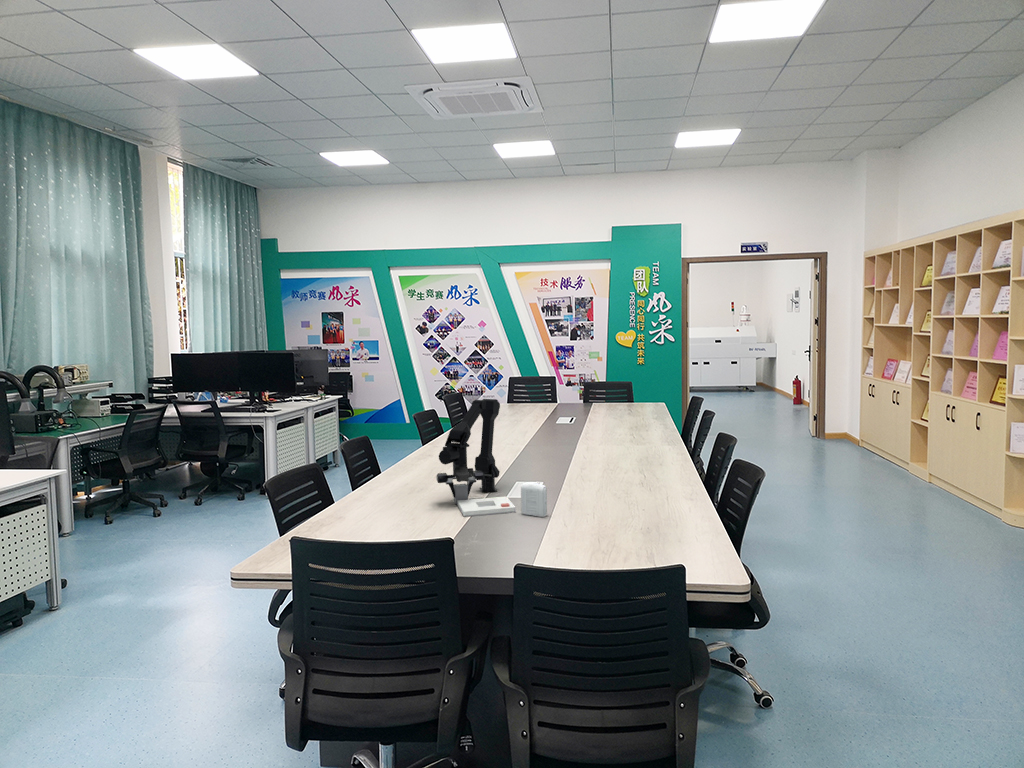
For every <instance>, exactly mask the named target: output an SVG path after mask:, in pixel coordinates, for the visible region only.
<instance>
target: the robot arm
mask: <svg viewBox="0 0 1024 768" xmlns="http://www.w3.org/2000/svg"><path fill="white" fill-rule="evenodd" d="M500 409H501V404H500V402H499V400H498V399H496V398H483V399H474V400H472V402H471V405H470V407H469V409H468V410H467V412H466V413H465V414H464V416H463V418H462V419H461V421H460V422H459V423H456V425H454V426H452V428H451V429H450V431H449V433H448V435H447V438H446V441H445V444H444V446H443V447H442V450H441V451H440V452H439V454H438V460H439V462H440V463H441V464H443V465H445V466H446V465H449V464H452V474H447V473H446V472H439V473H437V474H436V481H437V483H438V484H444V483H445V485H448V486H449V488H450V490H451V493H452V496H453V499H454V498H455V491H454V481H453V480H456V482H458V483H462V482H466V485H467V486H468V497H469V495H470V494H471V493H470V492H471V490H472V487H473V484H474V483H477V481H481V487H479V490H480V491H481V493H492V492H497V491H498V489H497V488H496V482H495V481H496V480H495V479H497V478H498V477H500V469H498V467H497V466H496V460H495V457H494V454H493V445H494V432H495V431H494V430H495V420H496V418H497V417H498V415H499V413H500ZM479 416H481V418H482V426H481V427H482V428H481V429H482V430H481V442H480V452H479V455H478V456H475V458H474V467H469V468H468V453H467V451H468V450H467V448H469V447H470V444H469V443H468V442H469V439H470V437H471V436H472V435H471V434H472V432H471V431H472V430H471V429H472V428H473V426H474V424H475V423H476V421H477V420H478V418H479Z"/></svg>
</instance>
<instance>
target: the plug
mask: <svg viewBox="0 0 1024 768" xmlns="http://www.w3.org/2000/svg"><path fill="white" fill-rule="evenodd" d="M454 491H455V498H454V497H453V503H454V504H455V505H456V506H458V500H469V496H468V486H467V483H458V484H457V483H456V484H454Z"/></svg>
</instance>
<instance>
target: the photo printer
mask: <svg viewBox="0 0 1024 768" xmlns="http://www.w3.org/2000/svg"><path fill="white" fill-rule="evenodd" d="M520 512H521V514H522V515H527V516H534V517H538V518H539V517H540V518H544V517H547V515H548V488H547V486H546V485H544V484H542V483H540V482H536V481H535V482H534V481H529V482H528V481H527V482H524V483H521V486H520Z"/></svg>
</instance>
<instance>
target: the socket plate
mask: <svg viewBox="0 0 1024 768" xmlns="http://www.w3.org/2000/svg"><path fill="white" fill-rule="evenodd" d="M457 507H458V509H459V511H460V512H461V513H460V514H461V515H462V517H463V518H466V517H476V516H477V517H478V516H479V517H480V516H488V515H489V516H490V515H499V514H500V515H501V513H502V514H511V513H512V512H514V513H517V512H516V510H517V509H516V506H515V505H514V503H513V502H512V501H511V500H510V498H508V496H497V497H485V498H483V497H482V498H473V499H471V498H470V499H468V500H458V504H457Z"/></svg>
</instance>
